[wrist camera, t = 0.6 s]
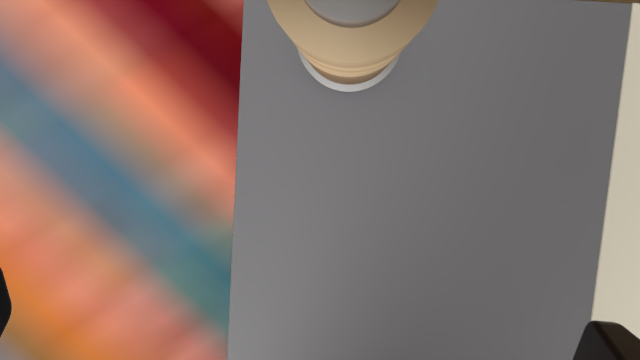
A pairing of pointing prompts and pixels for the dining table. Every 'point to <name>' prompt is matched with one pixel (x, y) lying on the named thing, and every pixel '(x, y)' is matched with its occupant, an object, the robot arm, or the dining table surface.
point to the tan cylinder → (351, 36)
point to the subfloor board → (441, 190)
